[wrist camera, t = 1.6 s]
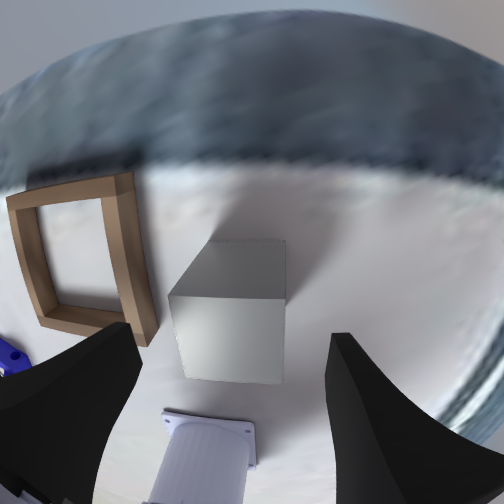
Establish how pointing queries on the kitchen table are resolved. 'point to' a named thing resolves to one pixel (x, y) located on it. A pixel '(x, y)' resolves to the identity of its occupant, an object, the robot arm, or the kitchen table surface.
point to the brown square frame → (120, 248)
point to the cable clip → (12, 359)
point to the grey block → (232, 312)
